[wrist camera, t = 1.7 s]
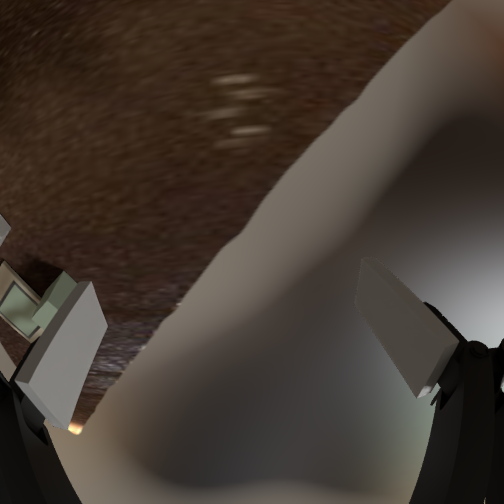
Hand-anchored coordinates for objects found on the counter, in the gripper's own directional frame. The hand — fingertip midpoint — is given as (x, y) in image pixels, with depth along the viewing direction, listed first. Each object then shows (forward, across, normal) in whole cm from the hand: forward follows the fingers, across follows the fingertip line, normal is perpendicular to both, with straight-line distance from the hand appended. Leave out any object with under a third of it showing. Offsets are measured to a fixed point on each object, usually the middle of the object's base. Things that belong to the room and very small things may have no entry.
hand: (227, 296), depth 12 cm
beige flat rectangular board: (+21, -38, -15) cm, 46 cm away
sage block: (+22, -26, -12) cm, 36 cm away
